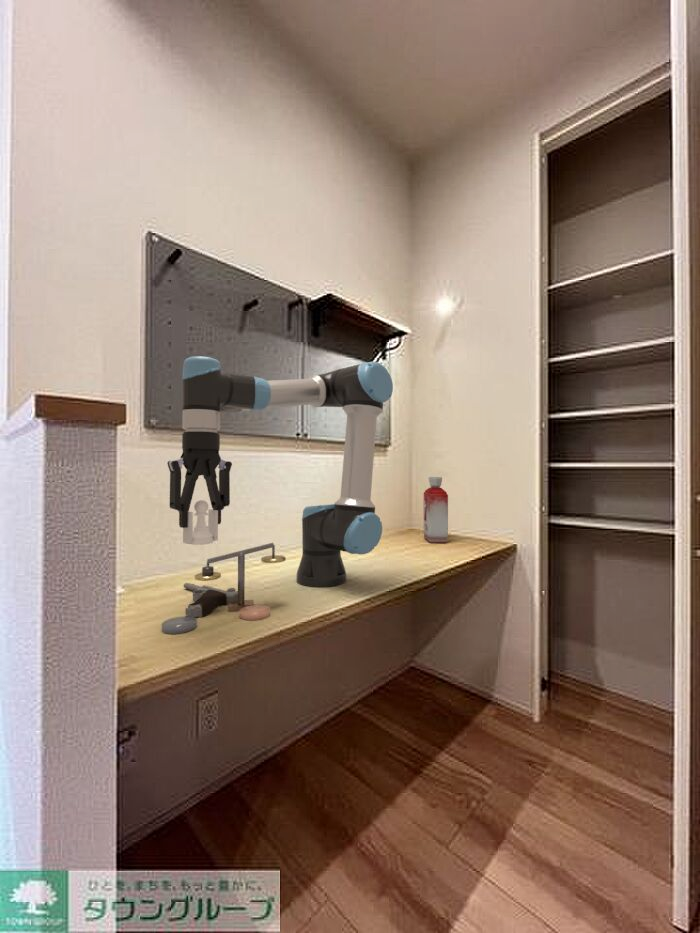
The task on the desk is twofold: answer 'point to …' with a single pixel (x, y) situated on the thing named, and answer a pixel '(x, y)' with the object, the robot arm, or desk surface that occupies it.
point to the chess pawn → (201, 525)
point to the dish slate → (179, 625)
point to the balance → (211, 575)
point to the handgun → (208, 599)
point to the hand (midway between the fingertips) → (200, 541)
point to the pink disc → (254, 612)
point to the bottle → (435, 512)
